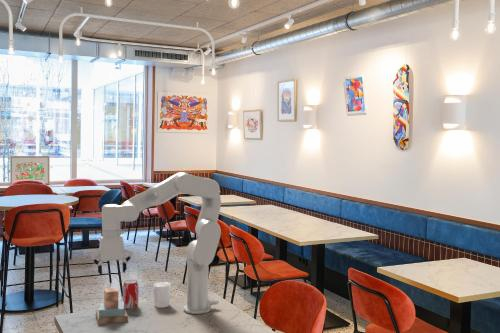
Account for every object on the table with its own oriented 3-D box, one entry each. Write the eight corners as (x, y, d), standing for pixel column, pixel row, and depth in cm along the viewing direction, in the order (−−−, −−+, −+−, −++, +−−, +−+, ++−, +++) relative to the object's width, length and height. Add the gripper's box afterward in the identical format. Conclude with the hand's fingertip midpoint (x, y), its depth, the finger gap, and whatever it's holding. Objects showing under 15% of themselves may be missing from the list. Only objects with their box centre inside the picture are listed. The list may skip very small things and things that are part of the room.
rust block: (115, 303, 226) (116, 287, 226) (118, 307, 221) (118, 291, 221) (104, 305, 224) (104, 289, 223) (106, 308, 219) (106, 292, 219)
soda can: (134, 310, 234) (134, 284, 233) (119, 309, 235) (120, 282, 235) (140, 305, 241) (141, 279, 240) (126, 304, 242) (126, 278, 242)
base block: (124, 313, 231) (124, 307, 231) (127, 322, 220) (127, 315, 220) (95, 316, 227) (95, 309, 227) (98, 326, 216) (98, 318, 215)
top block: (124, 308, 229) (124, 301, 229) (123, 315, 220) (123, 308, 219) (100, 309, 227) (100, 302, 227) (98, 317, 217) (98, 310, 217)
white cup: (174, 304, 243) (174, 283, 242) (162, 309, 236) (162, 287, 235) (161, 301, 247) (161, 281, 246) (149, 306, 240) (149, 284, 240)
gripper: (130, 230, 228) (131, 269, 229) (89, 233, 222) (90, 273, 223) (133, 233, 221) (134, 273, 222) (91, 236, 215) (92, 277, 216)
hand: (112, 273), depth 222 cm, fingers open, 9 cm apart
